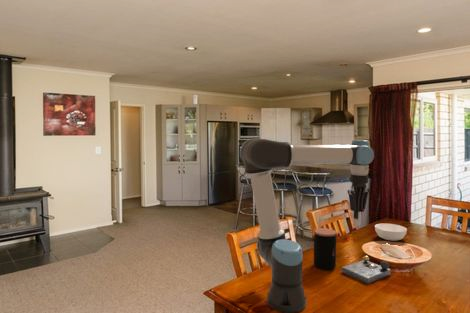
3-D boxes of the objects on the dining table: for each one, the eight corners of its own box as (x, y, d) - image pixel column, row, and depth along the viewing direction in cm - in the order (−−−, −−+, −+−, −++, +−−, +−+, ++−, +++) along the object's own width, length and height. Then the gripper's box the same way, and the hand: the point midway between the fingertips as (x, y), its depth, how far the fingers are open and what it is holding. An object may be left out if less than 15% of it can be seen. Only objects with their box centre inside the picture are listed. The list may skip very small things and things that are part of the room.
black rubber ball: (385, 271, 151) (386, 263, 151) (378, 268, 154) (378, 260, 154) (390, 269, 153) (391, 261, 153) (383, 266, 156) (383, 258, 156)
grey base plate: (367, 283, 144) (367, 278, 144) (341, 272, 156) (342, 267, 155) (390, 274, 153) (390, 269, 153) (364, 264, 165) (364, 259, 164)
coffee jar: (336, 272, 156) (337, 235, 154) (313, 270, 158) (314, 233, 157) (334, 263, 166) (335, 228, 165) (313, 261, 168) (313, 227, 167)
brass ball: (366, 263, 160) (366, 257, 160) (361, 261, 162) (361, 255, 162) (370, 262, 161) (370, 256, 161) (365, 260, 164) (365, 254, 164)
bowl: (377, 232, 218) (378, 221, 217) (408, 237, 207) (409, 226, 207) (371, 239, 203) (371, 228, 203) (403, 245, 192) (404, 233, 192)
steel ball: (372, 272, 154) (374, 265, 154) (366, 269, 157) (367, 262, 157) (376, 273, 156) (378, 266, 156) (370, 270, 159) (371, 263, 159)
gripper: (357, 175, 141) (354, 229, 142) (375, 174, 148) (373, 225, 149) (343, 173, 147) (340, 225, 149) (361, 172, 154) (359, 221, 156)
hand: (357, 225), depth 149 cm, fingers closed
